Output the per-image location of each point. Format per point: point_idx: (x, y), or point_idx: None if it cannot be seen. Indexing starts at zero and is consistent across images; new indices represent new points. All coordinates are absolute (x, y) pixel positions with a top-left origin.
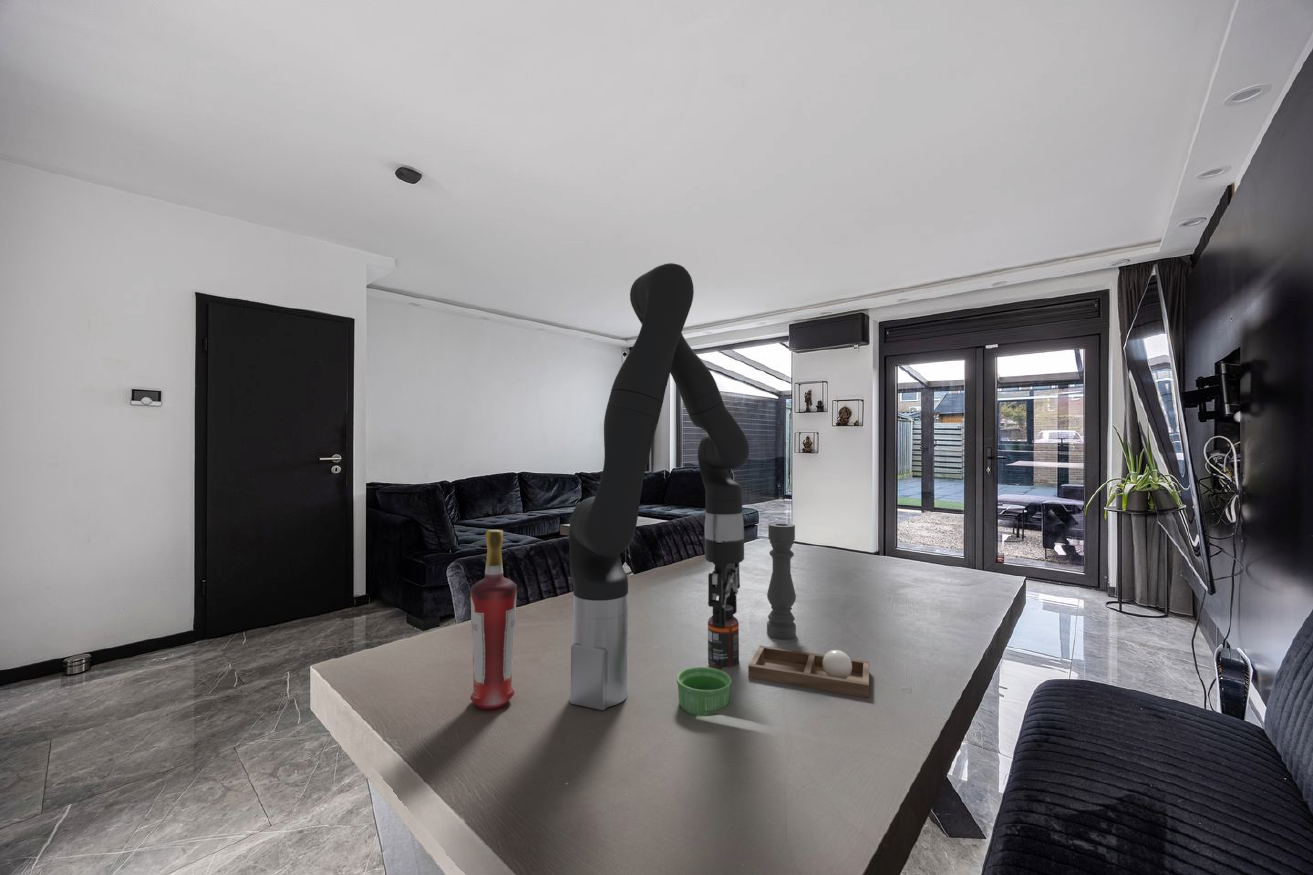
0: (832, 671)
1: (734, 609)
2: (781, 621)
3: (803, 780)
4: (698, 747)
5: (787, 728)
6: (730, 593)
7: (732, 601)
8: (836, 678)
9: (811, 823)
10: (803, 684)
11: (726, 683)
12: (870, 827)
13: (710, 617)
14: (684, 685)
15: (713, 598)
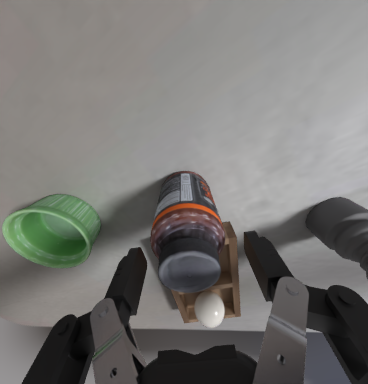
0: (194, 305)
1: (248, 258)
2: (336, 248)
3: (51, 301)
4: (5, 248)
5: (100, 281)
6: (272, 295)
7: (257, 274)
8: (182, 308)
9: (21, 310)
10: None
11: (81, 253)
12: (48, 323)
13: (178, 222)
14: (4, 235)
15: (96, 335)
